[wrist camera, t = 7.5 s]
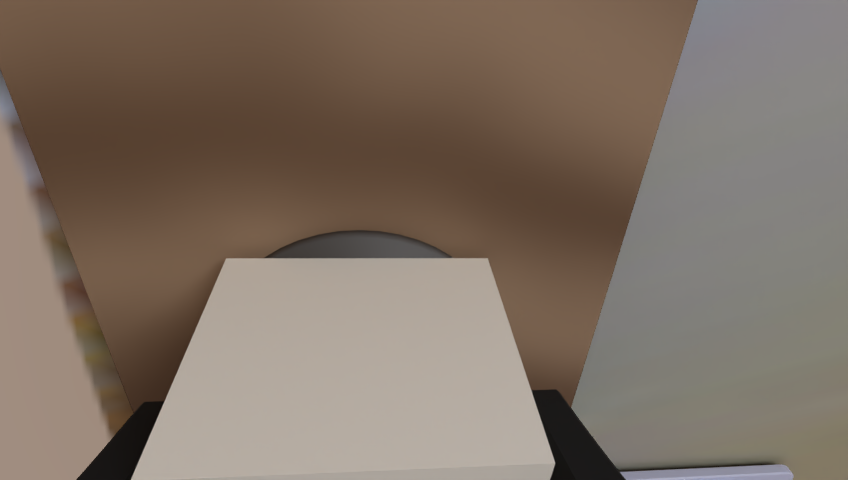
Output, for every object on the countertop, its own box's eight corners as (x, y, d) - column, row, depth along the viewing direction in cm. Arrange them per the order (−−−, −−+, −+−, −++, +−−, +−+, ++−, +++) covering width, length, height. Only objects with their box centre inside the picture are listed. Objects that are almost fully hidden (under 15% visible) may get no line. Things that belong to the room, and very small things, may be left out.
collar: (463, 422, 14) (500, 635, 10) (257, 429, 14) (206, 657, 9) (487, 258, 11) (555, 463, 7) (226, 258, 11) (130, 481, 6)
